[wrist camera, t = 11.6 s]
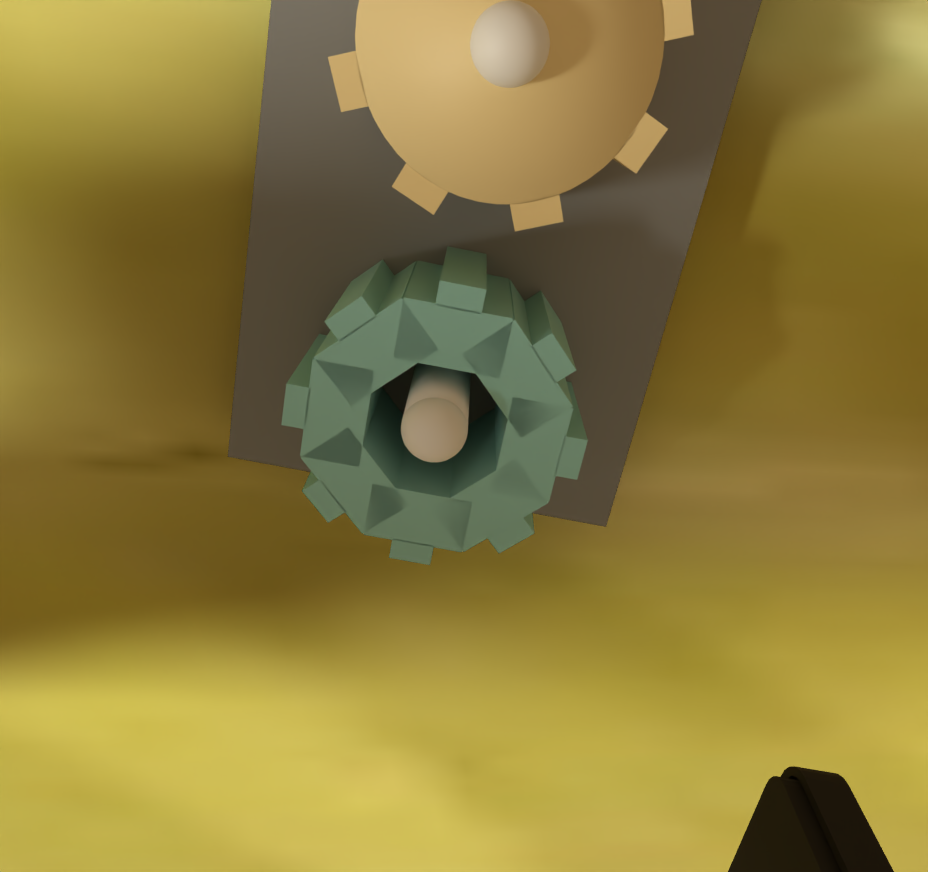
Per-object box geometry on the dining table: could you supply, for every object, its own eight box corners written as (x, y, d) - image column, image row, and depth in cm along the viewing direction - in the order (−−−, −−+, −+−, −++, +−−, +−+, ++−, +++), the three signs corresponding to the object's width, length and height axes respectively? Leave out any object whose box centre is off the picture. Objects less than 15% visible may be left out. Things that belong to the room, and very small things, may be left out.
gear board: (598, 497, 29) (635, 637, 22) (244, 432, 28) (161, 552, 21) (762, -73, 22) (894, -146, 15) (306, -175, 22) (217, -302, 14)
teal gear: (538, 509, 27) (548, 586, 23) (301, 466, 26) (268, 536, 22) (598, 276, 24) (621, 315, 20) (333, 223, 23) (301, 253, 19)
